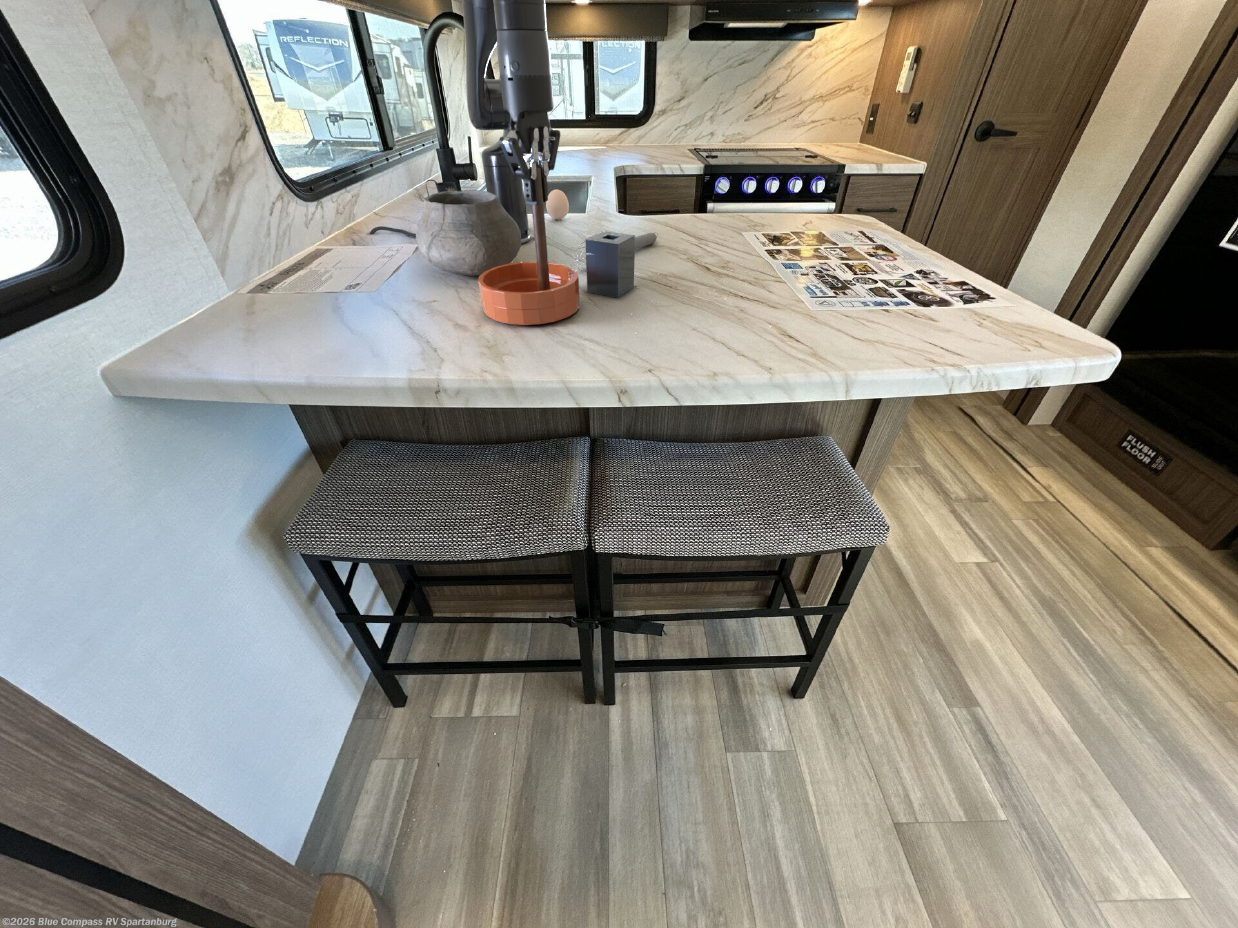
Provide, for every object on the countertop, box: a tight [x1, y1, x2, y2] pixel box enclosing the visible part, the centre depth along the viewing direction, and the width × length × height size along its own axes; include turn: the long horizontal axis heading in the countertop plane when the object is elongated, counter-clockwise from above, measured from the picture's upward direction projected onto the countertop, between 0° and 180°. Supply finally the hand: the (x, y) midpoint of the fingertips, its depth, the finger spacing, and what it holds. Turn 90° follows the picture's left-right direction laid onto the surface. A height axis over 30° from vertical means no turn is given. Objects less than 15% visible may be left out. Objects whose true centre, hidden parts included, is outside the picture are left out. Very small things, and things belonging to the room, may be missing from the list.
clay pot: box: [415, 189, 522, 277], centre depth 106 cm, size 22×21×15 cm
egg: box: [545, 189, 570, 221], centre depth 146 cm, size 7×7×8 cm
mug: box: [425, 179, 458, 197], centre depth 137 cm, size 8×6×12 cm
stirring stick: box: [531, 168, 550, 291], centre depth 87 cm, size 2×2×20 cm
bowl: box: [477, 260, 581, 326], centre depth 92 cm, size 18×18×6 cm
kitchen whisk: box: [572, 231, 659, 273], centre depth 117 cm, size 6×34×6 cm, turn 147°
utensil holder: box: [584, 230, 636, 299], centre depth 99 cm, size 7×7×10 cm
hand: (537, 202), depth 84 cm, fingers closed on stirring stick, 2 cm apart
